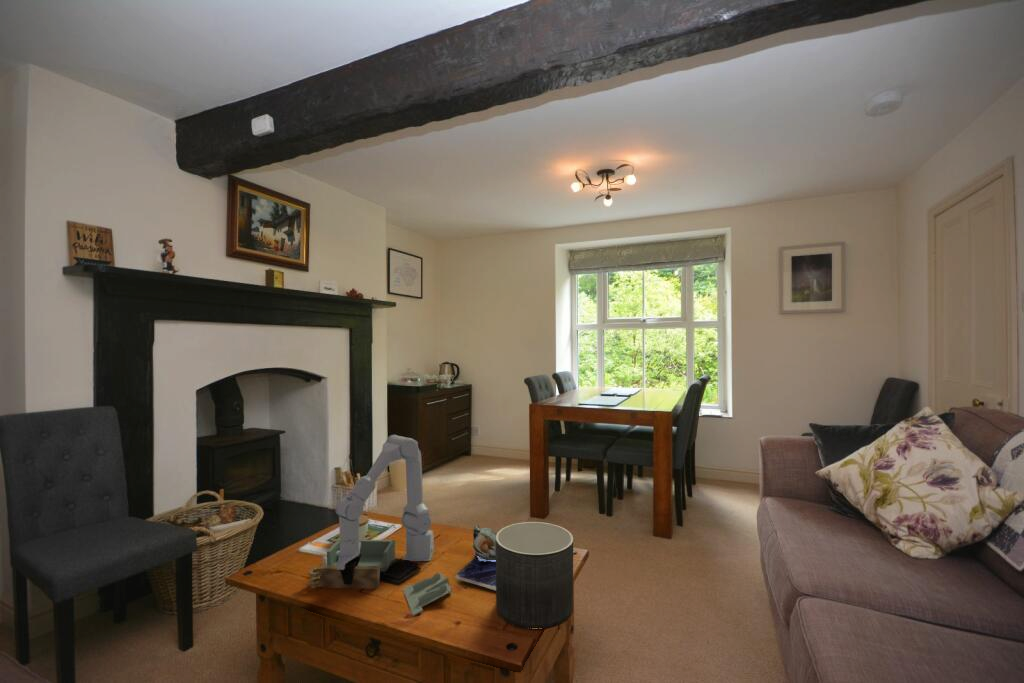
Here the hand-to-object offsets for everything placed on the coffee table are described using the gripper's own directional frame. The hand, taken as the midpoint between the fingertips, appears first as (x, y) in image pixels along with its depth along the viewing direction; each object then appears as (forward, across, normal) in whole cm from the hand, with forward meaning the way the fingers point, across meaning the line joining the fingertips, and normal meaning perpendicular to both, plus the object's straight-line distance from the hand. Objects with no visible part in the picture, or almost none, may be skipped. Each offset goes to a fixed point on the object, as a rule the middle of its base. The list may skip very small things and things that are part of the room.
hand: (349, 581), depth 144 cm
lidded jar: (+2, -34, -11) cm, 35 cm away
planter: (+2, +10, +57) cm, 58 cm away
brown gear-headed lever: (+2, 0, -2) cm, 2 cm away
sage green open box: (+1, -12, -1) cm, 12 cm away
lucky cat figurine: (+2, -18, +43) cm, 47 cm away
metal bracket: (+2, +6, +26) cm, 26 cm away
